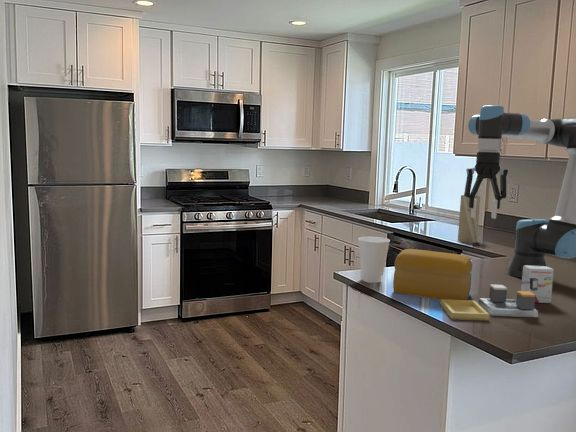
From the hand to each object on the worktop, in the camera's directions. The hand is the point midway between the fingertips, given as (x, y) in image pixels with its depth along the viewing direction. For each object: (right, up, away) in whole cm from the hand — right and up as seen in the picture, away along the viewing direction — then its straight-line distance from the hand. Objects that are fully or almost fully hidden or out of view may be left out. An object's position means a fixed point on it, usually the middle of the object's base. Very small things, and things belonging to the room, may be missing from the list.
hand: (483, 217), depth 187 cm
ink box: (+16, -29, -5) cm, 33 cm away
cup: (-36, -24, +17) cm, 47 cm away
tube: (+30, -14, +107) cm, 112 cm away
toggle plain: (0, -27, -13) cm, 30 cm away
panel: (+2, -30, -16) cm, 34 cm away
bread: (-18, -27, +1) cm, 32 cm away
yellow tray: (-13, -30, -20) cm, 38 cm away
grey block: (+6, -28, -20) cm, 35 cm away
